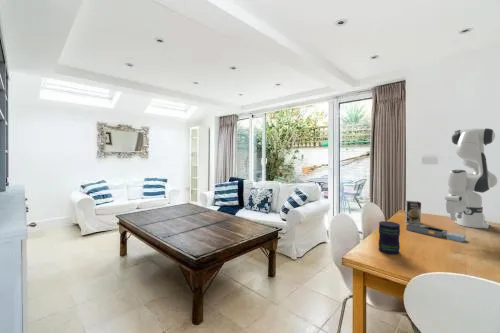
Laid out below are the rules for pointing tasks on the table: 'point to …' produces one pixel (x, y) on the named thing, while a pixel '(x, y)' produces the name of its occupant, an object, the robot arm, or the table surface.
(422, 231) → the rack
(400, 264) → the table surface
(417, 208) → the coffee box
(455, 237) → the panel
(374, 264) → the table surface
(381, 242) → the storage jar
